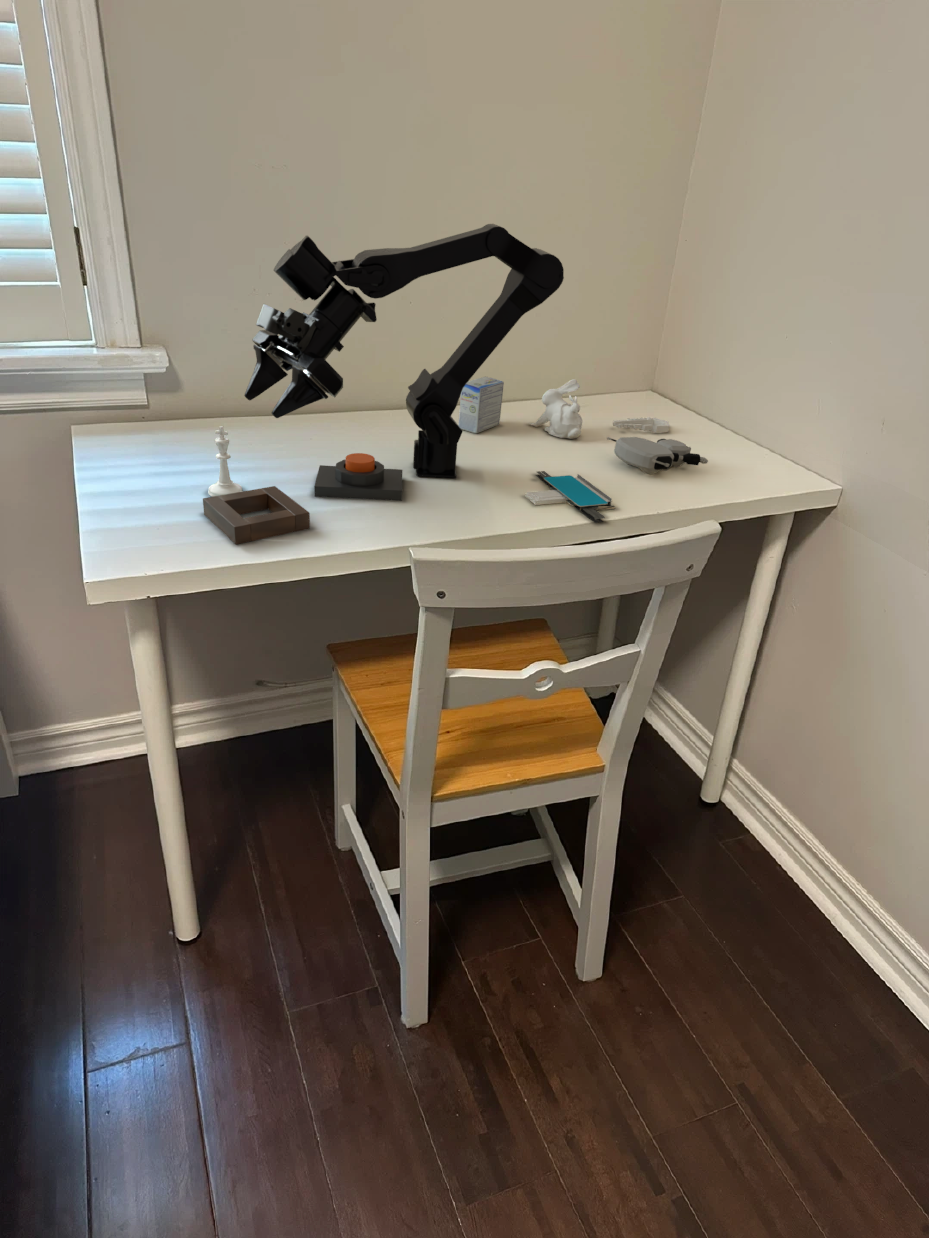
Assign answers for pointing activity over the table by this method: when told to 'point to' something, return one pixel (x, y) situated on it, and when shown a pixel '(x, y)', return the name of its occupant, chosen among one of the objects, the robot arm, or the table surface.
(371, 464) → the orange push button
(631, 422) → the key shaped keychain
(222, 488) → the chess piece
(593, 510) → the phone stand
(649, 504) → the table surface
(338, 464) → the push button base
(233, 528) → the frame
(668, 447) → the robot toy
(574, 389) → the rabbit figurine
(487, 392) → the medicine box
